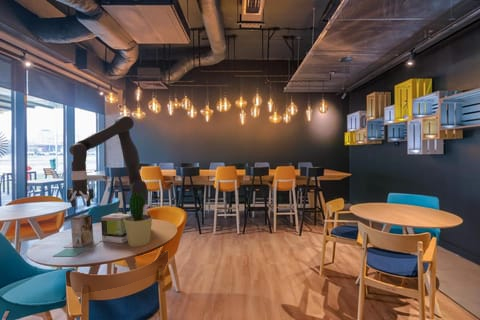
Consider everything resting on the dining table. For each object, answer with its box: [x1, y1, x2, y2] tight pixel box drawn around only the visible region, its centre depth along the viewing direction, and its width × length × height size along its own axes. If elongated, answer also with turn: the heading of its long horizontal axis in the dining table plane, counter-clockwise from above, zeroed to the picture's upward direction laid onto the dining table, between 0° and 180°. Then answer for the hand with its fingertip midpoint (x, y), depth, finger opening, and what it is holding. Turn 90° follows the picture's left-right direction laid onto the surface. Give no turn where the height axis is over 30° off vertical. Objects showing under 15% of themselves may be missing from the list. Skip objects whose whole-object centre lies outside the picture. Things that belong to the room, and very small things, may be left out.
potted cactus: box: [124, 191, 153, 248], centre depth 152 cm, size 15×15×30 cm
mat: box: [52, 247, 89, 258], centre depth 141 cm, size 12×10×1 cm
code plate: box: [63, 240, 102, 249], centre depth 153 cm, size 16×10×1 cm, turn 87°
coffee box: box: [70, 213, 95, 248], centre depth 153 cm, size 9×6×16 cm
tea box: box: [100, 212, 132, 244], centre depth 159 cm, size 15×10×15 cm
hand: (81, 206), depth 152 cm, fingers open, 8 cm apart
